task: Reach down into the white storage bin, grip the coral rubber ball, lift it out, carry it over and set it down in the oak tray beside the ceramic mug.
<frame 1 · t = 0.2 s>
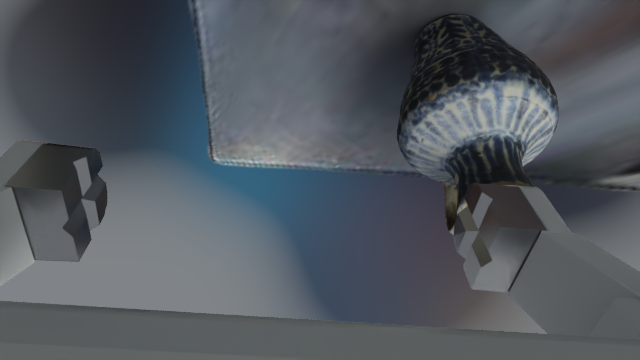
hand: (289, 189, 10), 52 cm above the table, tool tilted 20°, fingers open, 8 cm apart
jug: (453, 42, 70), on the table
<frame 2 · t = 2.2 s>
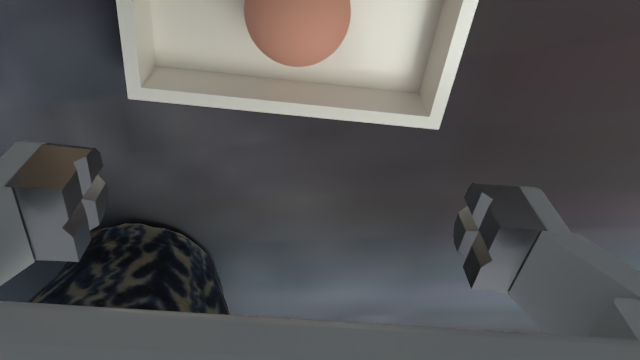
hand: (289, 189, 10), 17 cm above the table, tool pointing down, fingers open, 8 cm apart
ball: (297, 12, 22), point 3 cm above the table, touching white storage bin
jug: (156, 272, 36), on the table
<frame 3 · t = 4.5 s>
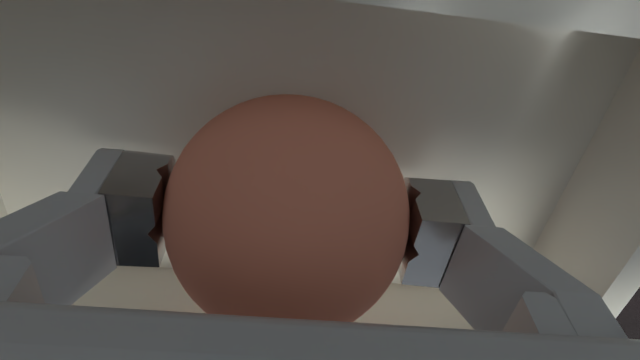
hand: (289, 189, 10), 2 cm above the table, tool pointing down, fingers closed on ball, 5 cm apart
white storage bin: (291, 139, 12), on the table
ball: (288, 215, 10), point 3 cm above the table, touching gripper, white storage bin
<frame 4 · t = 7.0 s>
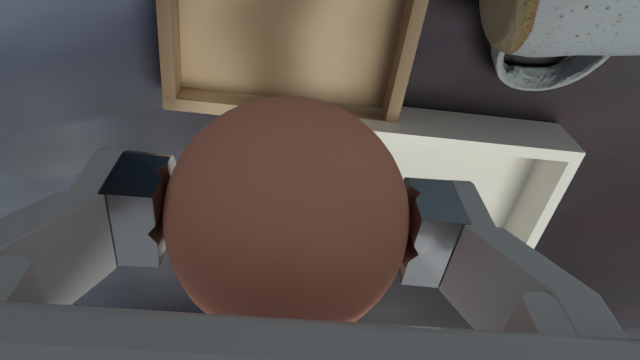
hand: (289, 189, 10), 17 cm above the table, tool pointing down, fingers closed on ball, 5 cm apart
white storage bin: (411, 178, 31), on the table
ball: (288, 216, 10), point 18 cm above the table, touching gripper
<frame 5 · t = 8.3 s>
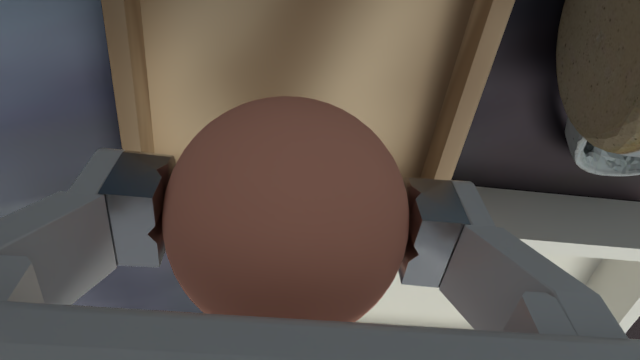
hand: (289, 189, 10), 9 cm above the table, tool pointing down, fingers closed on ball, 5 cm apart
white storage bin: (449, 264, 25), on the table
ball: (288, 217, 10), point 10 cm above the table, touching gripper
tray: (303, 44, 18), on the table
when the fingers open (4 cm above the table, at t = 9.5 s): ball drops 2 cm, resting on tray.
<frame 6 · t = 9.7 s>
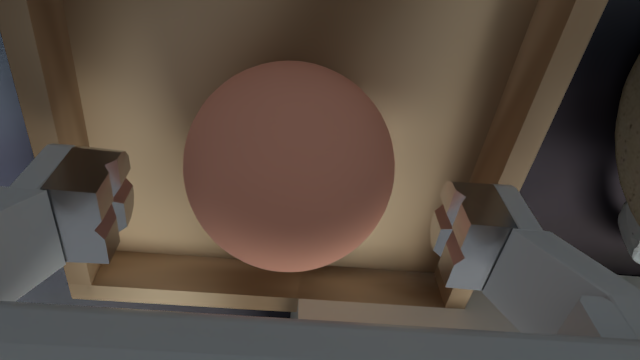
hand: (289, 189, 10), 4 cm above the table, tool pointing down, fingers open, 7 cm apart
white storage bin: (469, 348, 21), on the table
ball: (290, 167, 11), point 3 cm above the table, touching tray
tray: (291, 108, 14), on the table
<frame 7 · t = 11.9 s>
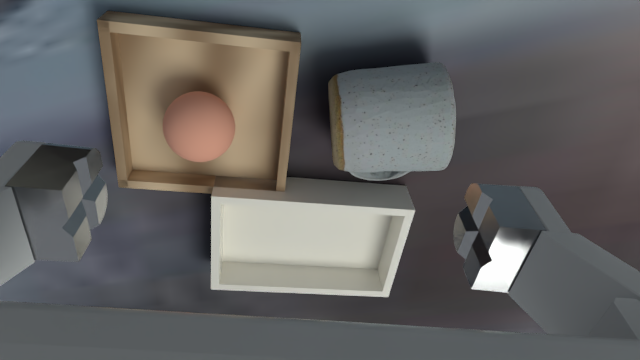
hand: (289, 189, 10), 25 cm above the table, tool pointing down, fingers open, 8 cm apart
ceramic mug: (381, 112, 37), on the table
white storage bin: (306, 225, 43), on the table
ball: (199, 127, 33), point 3 cm above the table, touching tray
tray: (206, 107, 36), on the table
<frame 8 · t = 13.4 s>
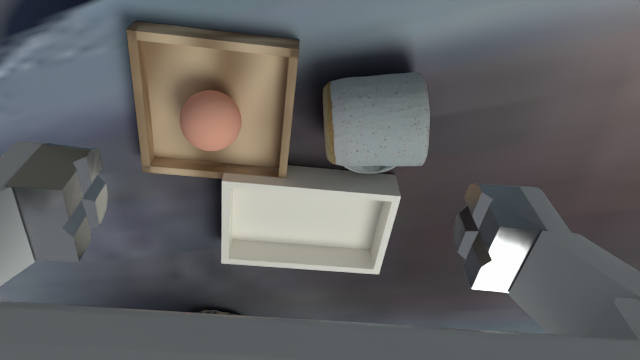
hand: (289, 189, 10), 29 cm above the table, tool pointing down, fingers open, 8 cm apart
ceramic mug: (372, 113, 42), on the table
white storage bin: (306, 208, 48), on the table
ball: (211, 120, 39), point 3 cm above the table, touching tray
tray: (218, 103, 41), on the table
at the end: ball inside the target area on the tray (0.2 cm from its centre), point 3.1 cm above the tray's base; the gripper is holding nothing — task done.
